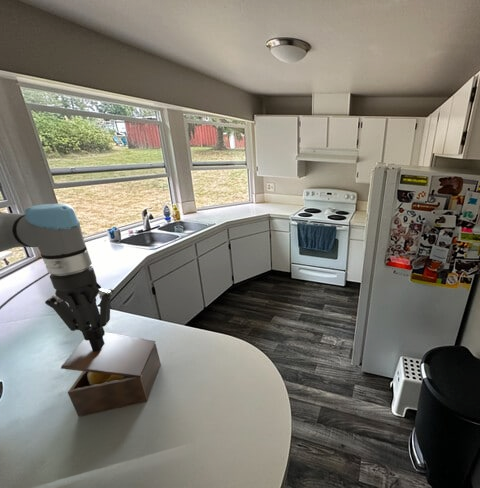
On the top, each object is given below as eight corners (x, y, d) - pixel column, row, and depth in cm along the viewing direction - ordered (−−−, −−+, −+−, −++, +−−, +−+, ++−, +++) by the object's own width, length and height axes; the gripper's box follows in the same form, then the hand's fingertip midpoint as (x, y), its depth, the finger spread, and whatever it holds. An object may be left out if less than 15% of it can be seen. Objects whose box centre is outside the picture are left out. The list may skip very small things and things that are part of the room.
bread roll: (109, 399, 69) (120, 390, 69) (79, 381, 66) (91, 371, 66) (125, 377, 77) (135, 369, 77) (99, 360, 74) (109, 352, 74)
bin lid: (60, 368, 60) (61, 366, 60) (90, 331, 72) (91, 329, 72) (139, 377, 67) (140, 375, 67) (154, 342, 79) (155, 340, 79)
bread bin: (78, 416, 66) (67, 392, 62) (103, 375, 78) (95, 353, 75) (147, 401, 70) (140, 378, 67) (160, 364, 82) (155, 343, 79)
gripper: (23, 280, 54) (59, 363, 62) (96, 273, 58) (121, 352, 66) (47, 265, 61) (77, 342, 69) (111, 260, 65) (132, 334, 73)
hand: (99, 347), depth 68 cm, fingers closed
